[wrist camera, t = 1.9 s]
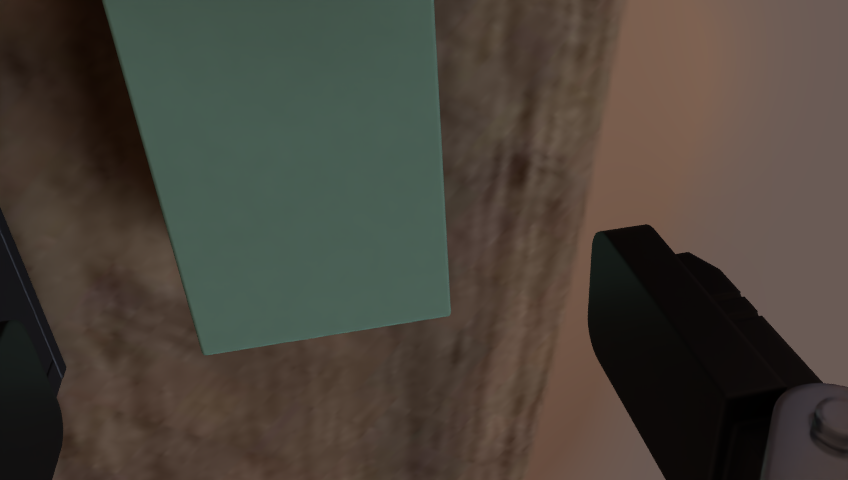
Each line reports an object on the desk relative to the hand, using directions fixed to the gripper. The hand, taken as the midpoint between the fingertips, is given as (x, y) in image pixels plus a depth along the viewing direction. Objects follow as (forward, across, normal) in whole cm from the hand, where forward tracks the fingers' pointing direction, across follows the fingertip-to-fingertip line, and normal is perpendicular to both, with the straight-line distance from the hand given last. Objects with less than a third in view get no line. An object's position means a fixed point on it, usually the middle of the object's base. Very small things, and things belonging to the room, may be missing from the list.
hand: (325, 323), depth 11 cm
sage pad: (+9, 0, 0) cm, 9 cm away
